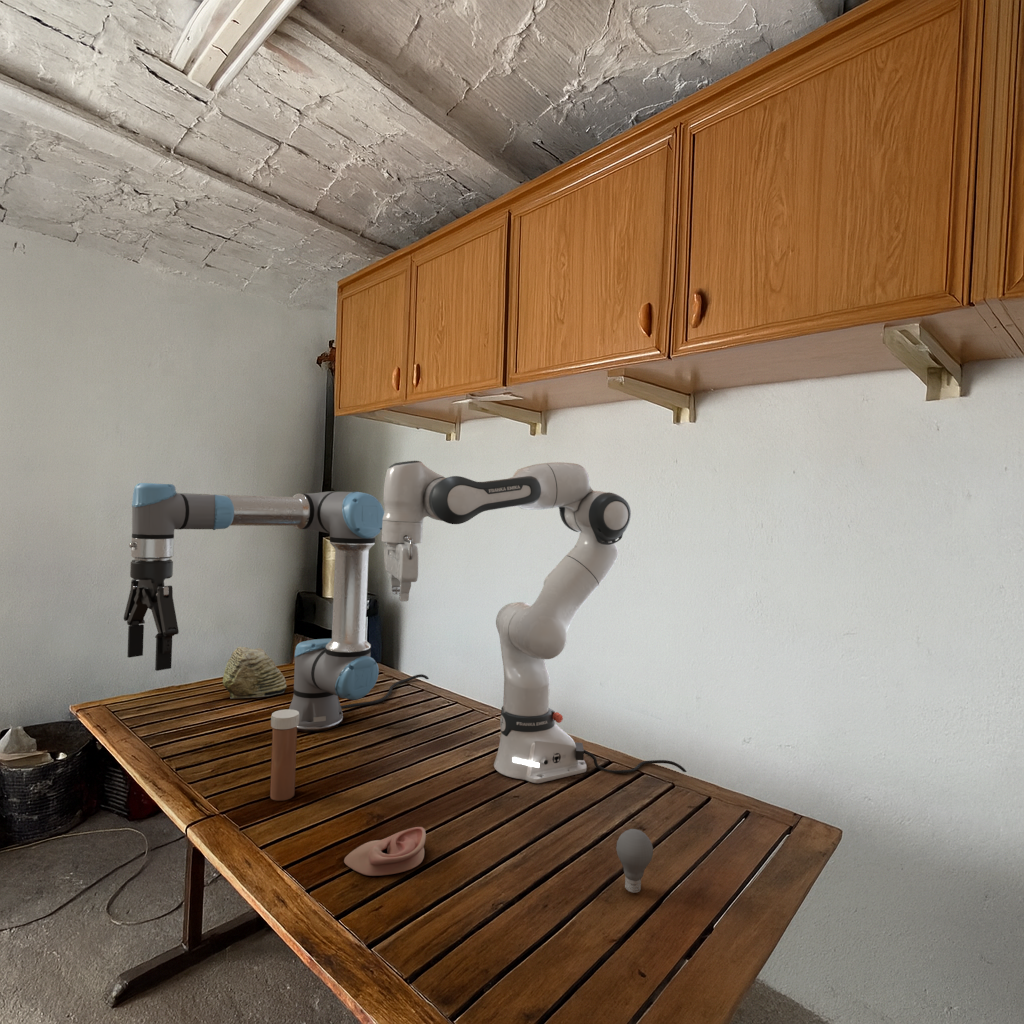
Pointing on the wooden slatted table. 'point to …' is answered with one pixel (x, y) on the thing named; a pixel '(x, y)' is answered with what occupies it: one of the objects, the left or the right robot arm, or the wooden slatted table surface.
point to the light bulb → (634, 857)
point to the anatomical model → (389, 853)
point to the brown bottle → (283, 763)
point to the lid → (285, 719)
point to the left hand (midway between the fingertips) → (148, 662)
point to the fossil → (252, 674)
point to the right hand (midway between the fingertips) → (399, 597)
